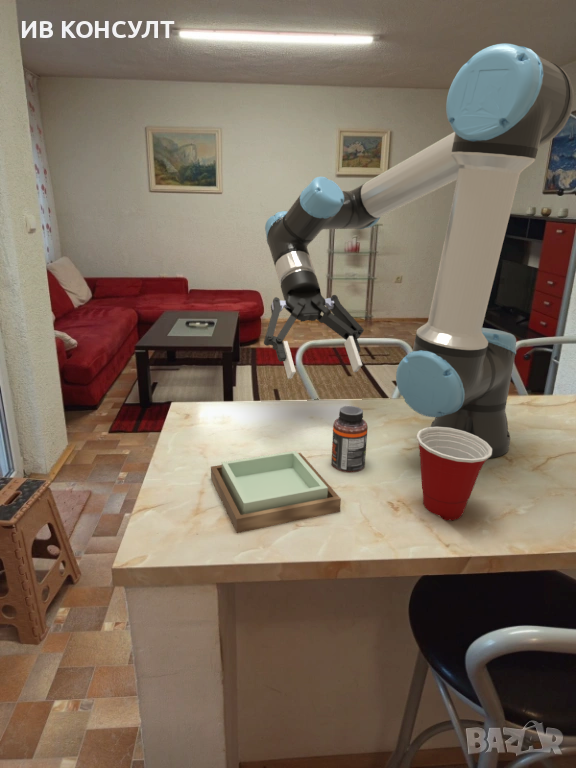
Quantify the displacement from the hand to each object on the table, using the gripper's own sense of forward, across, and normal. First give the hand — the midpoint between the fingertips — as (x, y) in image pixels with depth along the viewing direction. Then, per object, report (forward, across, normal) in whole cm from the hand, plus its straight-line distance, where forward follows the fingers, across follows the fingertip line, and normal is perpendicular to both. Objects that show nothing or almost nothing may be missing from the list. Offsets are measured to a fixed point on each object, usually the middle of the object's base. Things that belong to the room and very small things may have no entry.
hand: (325, 372), depth 96 cm
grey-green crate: (+21, +16, +1) cm, 26 cm away
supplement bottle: (+18, 0, -3) cm, 18 cm away
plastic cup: (+30, -8, +9) cm, 32 cm away
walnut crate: (+22, +16, +1) cm, 27 cm away
